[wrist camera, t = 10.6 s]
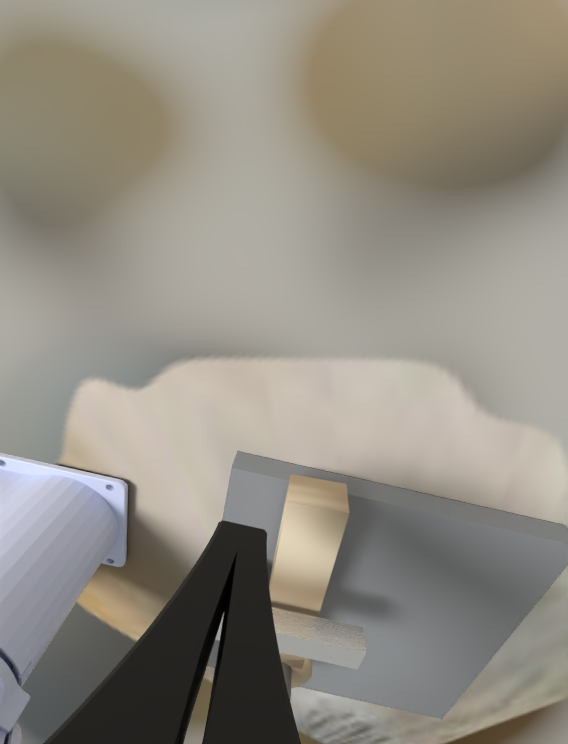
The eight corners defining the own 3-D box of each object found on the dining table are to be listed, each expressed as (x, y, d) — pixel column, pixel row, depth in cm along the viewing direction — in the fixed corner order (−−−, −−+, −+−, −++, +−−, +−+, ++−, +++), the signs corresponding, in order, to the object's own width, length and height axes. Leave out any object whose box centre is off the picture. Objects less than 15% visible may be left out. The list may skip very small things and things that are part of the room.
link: (306, 655, 25) (304, 730, 21) (247, 644, 25) (235, 716, 21) (358, 483, 18) (369, 549, 14) (277, 469, 18) (268, 530, 14)
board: (202, 642, 28) (196, 663, 27) (237, 451, 20) (231, 467, 19) (435, 694, 28) (441, 719, 27) (564, 525, 20) (582, 546, 19)
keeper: (222, 565, 22) (201, 636, 18) (226, 543, 21) (206, 614, 17) (349, 593, 22) (356, 671, 18) (358, 573, 21) (367, 650, 17)
